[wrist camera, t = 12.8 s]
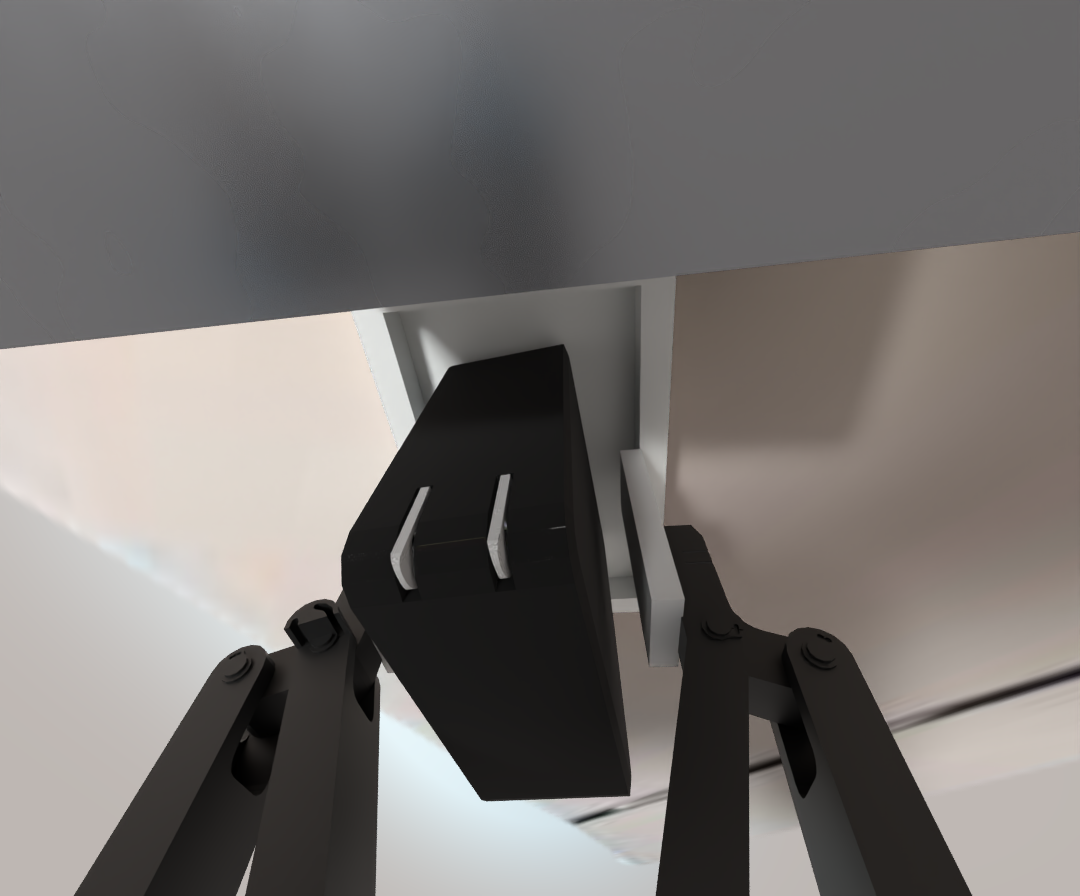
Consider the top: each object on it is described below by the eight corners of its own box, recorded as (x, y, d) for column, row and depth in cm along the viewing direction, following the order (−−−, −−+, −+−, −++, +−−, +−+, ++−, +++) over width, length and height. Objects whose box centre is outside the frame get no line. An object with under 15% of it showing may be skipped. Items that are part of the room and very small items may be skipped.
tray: (364, 272, 15) (341, 283, 13) (664, 237, 14) (677, 244, 12) (462, 589, 23) (455, 618, 21) (652, 581, 22) (659, 611, 20)
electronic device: (517, 553, 21) (487, 813, 12) (452, 358, 16) (320, 572, 7) (604, 542, 20) (636, 809, 12) (565, 335, 15) (570, 540, 6)
